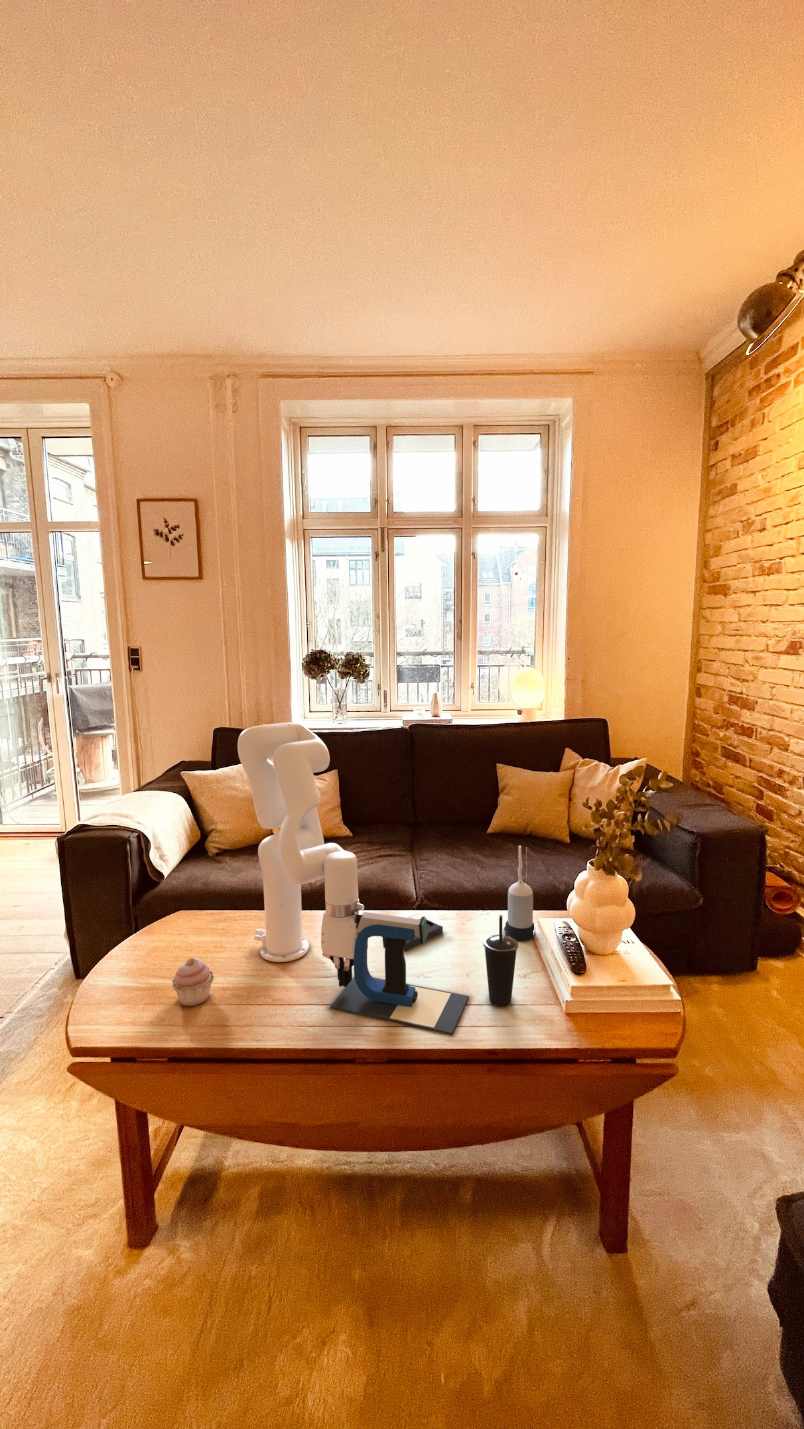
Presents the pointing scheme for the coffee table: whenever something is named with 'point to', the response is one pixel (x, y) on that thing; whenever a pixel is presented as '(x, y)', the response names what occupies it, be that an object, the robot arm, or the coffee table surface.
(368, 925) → the handheld scanner
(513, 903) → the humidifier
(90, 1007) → the coffee table surface
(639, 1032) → the coffee table surface
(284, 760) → the robot arm
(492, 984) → the drinking cup
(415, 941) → the vhs tape
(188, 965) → the cupcake
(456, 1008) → the mat
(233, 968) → the coffee table surface
